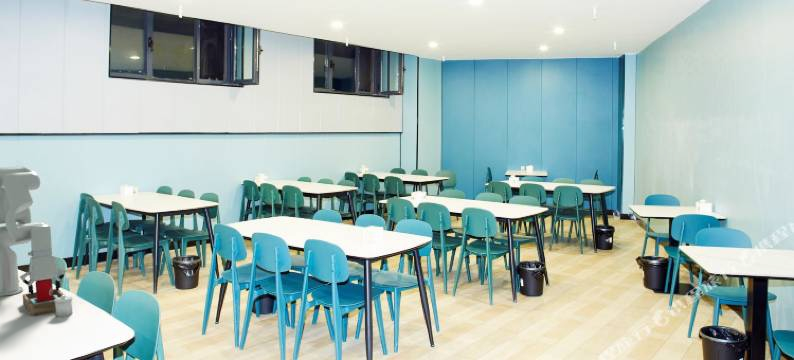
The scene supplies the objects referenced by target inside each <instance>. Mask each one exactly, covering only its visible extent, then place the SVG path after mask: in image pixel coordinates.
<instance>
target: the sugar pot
mask: <svg viewBox="0 0 794 360" xmlns="http://www.w3.org/2000/svg"><path fill="white" fill-rule="evenodd" d="M64 295H65V294H64ZM64 295H62V296H61V297H59V298H56V299H54V302H55V307H56V312H55V316H56V317H58V318H64V317H68V316H72V315H73V296H70V295H68V296H66V295H65V296H64Z"/></svg>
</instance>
